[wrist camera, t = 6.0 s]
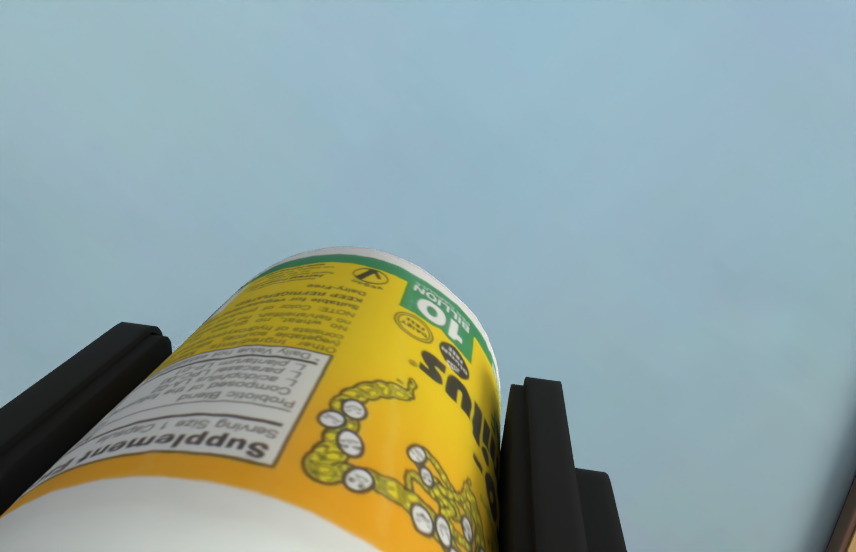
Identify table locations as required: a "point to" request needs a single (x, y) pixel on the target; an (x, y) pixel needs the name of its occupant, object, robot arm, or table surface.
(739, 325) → the table surface
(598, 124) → the table surface
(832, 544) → the walnut ruler
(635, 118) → the table surface
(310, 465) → the supplement bottle
